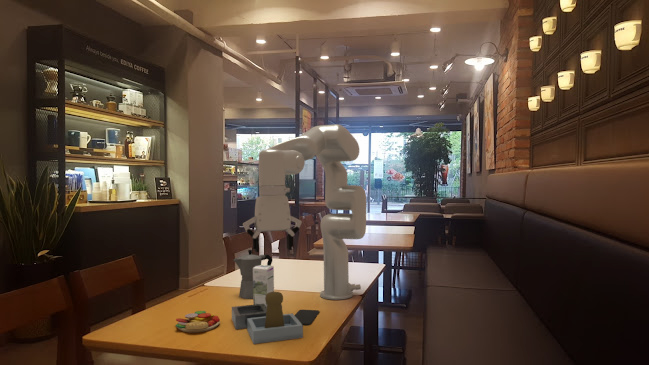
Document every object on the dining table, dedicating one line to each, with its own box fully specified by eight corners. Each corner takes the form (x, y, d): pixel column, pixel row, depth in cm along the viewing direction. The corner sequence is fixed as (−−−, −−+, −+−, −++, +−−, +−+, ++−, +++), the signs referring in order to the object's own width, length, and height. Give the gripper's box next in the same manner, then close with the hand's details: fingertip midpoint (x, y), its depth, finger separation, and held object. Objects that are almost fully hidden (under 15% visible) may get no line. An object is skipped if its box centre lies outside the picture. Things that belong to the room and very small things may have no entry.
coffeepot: (236, 301, 164) (235, 252, 164) (231, 295, 173) (230, 249, 173) (276, 296, 170) (275, 249, 170) (269, 290, 179) (268, 246, 179)
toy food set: (195, 337, 127) (195, 326, 127) (165, 330, 134) (165, 319, 134) (228, 324, 138) (228, 314, 138) (199, 318, 145) (199, 308, 145)
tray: (292, 324, 136) (292, 313, 136) (302, 337, 125) (302, 325, 125) (247, 330, 132) (247, 318, 132) (253, 344, 120) (253, 331, 120)
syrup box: (274, 305, 157) (274, 265, 157) (267, 310, 152) (266, 268, 152) (260, 304, 159) (259, 264, 159) (252, 308, 154) (252, 267, 154)
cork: (281, 334, 125) (281, 295, 125) (261, 333, 126) (260, 294, 126) (287, 327, 131) (287, 290, 131) (268, 326, 132) (267, 289, 132)
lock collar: (279, 310, 152) (279, 298, 152) (289, 323, 138) (289, 310, 138) (230, 315, 146) (230, 303, 146) (235, 329, 132) (235, 316, 132)
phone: (320, 310, 150) (310, 324, 135) (320, 312, 150) (310, 326, 135) (299, 309, 151) (286, 322, 136) (299, 311, 151) (287, 325, 136)
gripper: (297, 191, 135) (298, 246, 135) (240, 192, 129) (241, 250, 129) (304, 191, 127) (305, 250, 128) (244, 193, 122) (245, 254, 122)
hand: (273, 250), depth 128 cm, fingers open, 9 cm apart
